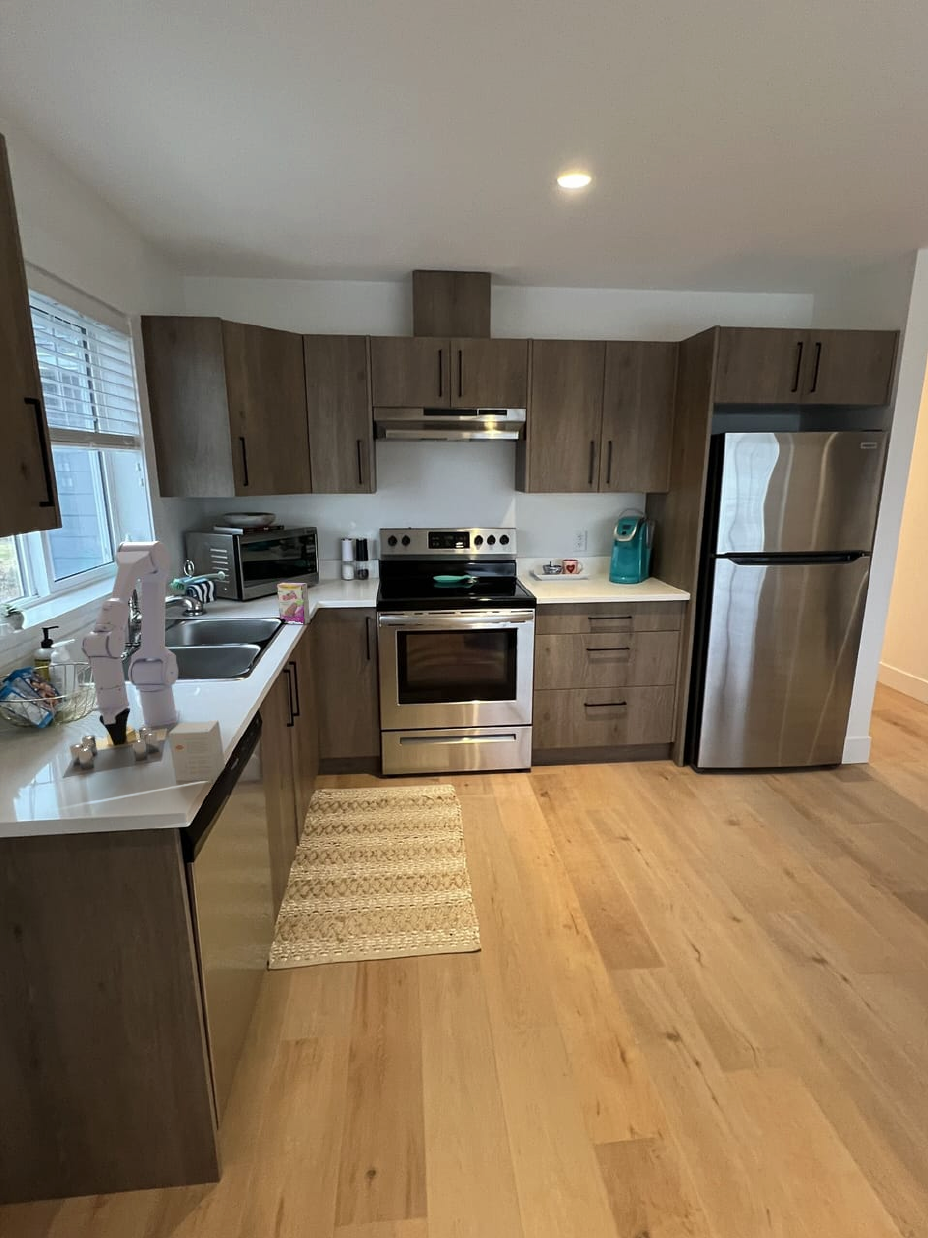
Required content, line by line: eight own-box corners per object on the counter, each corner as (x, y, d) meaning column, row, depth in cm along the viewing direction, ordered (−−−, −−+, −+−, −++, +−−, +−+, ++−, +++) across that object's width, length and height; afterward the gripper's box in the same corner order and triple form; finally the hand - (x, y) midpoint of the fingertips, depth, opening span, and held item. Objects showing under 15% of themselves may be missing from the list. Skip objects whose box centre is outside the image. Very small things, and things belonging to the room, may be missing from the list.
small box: (226, 768, 129) (219, 720, 127) (216, 781, 123) (209, 731, 121) (186, 770, 129) (179, 721, 126) (175, 783, 123) (167, 733, 121)
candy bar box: (279, 624, 255) (276, 584, 251) (286, 621, 259) (282, 582, 256) (305, 625, 252) (301, 584, 248) (311, 622, 257) (307, 582, 253)
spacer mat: (81, 743, 144) (81, 741, 143) (167, 729, 150) (167, 728, 150) (62, 779, 126) (62, 777, 126) (161, 762, 132) (161, 760, 132)
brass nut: (109, 739, 144) (108, 729, 143) (137, 735, 146) (136, 724, 145) (106, 748, 140) (104, 737, 139) (135, 743, 142) (133, 732, 141)
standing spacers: (78, 754, 137) (75, 737, 136) (161, 741, 142) (158, 724, 141) (69, 772, 128) (65, 754, 127) (157, 758, 134) (154, 740, 133)
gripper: (95, 678, 142) (104, 734, 145) (82, 698, 128) (93, 759, 131) (130, 673, 144) (138, 729, 147) (121, 693, 131) (131, 753, 134)
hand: (119, 743), depth 139 cm, fingers closed
